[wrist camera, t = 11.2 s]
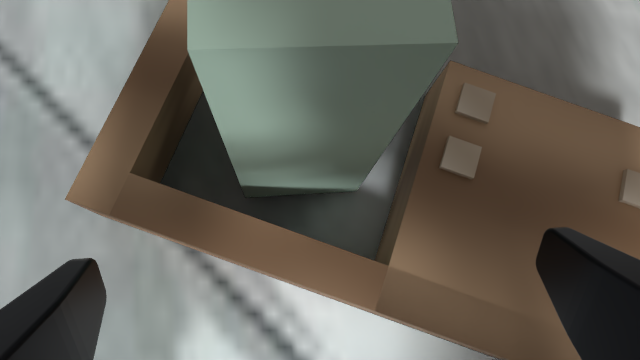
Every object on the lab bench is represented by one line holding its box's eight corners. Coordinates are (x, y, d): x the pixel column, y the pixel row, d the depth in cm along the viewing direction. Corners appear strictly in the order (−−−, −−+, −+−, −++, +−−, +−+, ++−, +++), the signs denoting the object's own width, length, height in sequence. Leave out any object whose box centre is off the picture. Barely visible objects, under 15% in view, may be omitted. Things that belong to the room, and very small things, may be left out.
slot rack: (848, 485, 17) (975, 527, 14) (101, 215, 17) (61, 198, 14) (851, 246, 19) (959, 236, 16) (200, 15, 20) (185, -37, 17)
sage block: (356, 191, 18) (458, 43, 8) (245, 197, 18) (187, 50, 7) (346, 90, 19) (422, -163, 9) (241, 94, 19) (186, -167, 8)
